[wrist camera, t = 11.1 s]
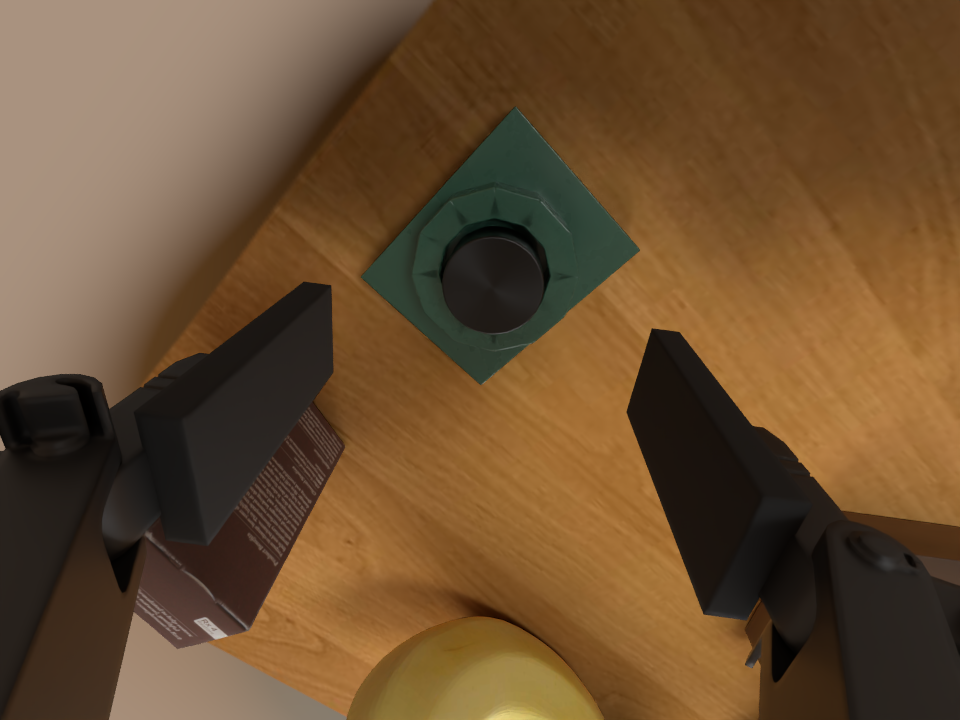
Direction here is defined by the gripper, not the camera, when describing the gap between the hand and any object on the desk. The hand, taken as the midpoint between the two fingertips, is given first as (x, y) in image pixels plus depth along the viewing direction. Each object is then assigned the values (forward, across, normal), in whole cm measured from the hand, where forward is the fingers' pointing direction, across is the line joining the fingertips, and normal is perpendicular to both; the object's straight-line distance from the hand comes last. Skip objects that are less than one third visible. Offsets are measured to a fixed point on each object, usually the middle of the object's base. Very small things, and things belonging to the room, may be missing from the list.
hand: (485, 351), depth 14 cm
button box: (+11, 0, 0) cm, 11 cm away
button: (+8, 0, 0) cm, 8 cm away
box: (+12, -11, -12) cm, 20 cm away
